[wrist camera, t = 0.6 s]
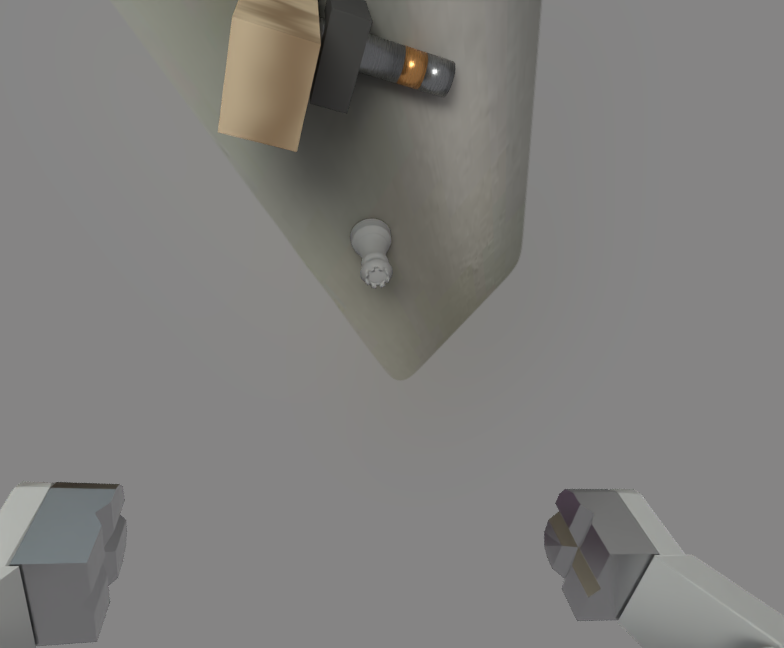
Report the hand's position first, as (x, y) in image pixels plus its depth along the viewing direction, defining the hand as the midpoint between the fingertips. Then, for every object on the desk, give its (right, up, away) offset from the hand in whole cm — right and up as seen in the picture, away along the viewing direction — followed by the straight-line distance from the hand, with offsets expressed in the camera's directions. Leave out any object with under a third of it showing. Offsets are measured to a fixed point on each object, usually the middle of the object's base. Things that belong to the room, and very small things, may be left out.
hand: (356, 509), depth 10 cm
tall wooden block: (-9, +28, +35) cm, 46 cm away
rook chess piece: (-2, +13, +50) cm, 51 cm away
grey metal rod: (-2, +27, +37) cm, 46 cm away
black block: (-4, +28, +36) cm, 46 cm away
